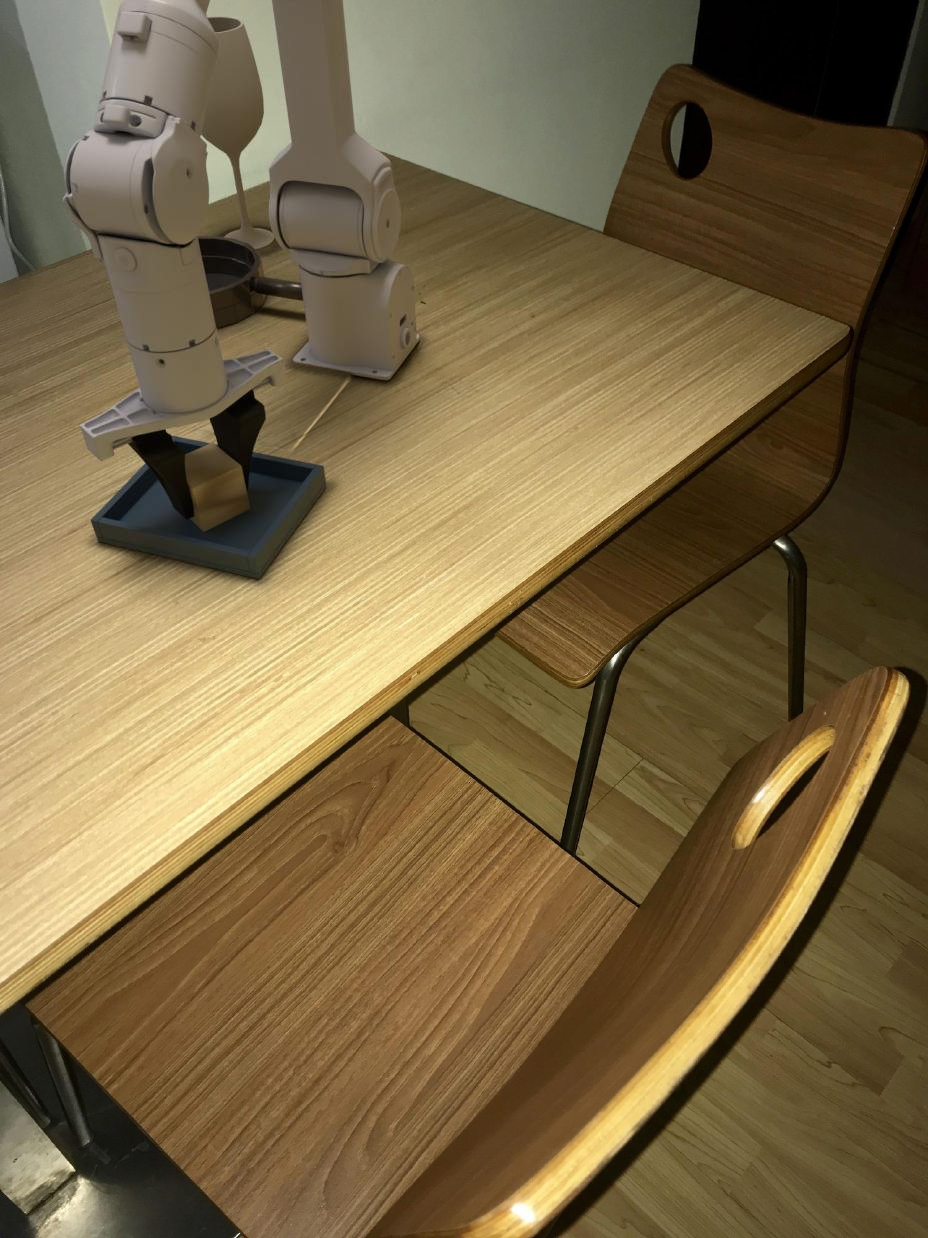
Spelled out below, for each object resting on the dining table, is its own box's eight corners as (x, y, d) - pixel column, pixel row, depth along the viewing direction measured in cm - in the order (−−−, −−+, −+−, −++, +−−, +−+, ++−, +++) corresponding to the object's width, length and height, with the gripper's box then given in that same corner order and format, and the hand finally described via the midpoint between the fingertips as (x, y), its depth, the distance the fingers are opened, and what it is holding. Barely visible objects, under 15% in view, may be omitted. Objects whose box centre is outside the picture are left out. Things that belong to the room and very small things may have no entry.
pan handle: (333, 299, 94) (331, 283, 93) (326, 307, 93) (324, 291, 92) (257, 288, 96) (255, 272, 95) (250, 295, 95) (247, 279, 94)
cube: (223, 485, 76) (213, 441, 73) (250, 509, 74) (241, 465, 71) (176, 507, 74) (164, 463, 71) (204, 532, 72) (192, 488, 69)
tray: (326, 486, 77) (323, 465, 75) (259, 579, 69) (254, 557, 68) (177, 455, 80) (172, 434, 78) (97, 541, 72) (89, 519, 71)
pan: (289, 283, 101) (284, 245, 98) (226, 346, 92) (218, 305, 89) (176, 266, 104) (168, 228, 101) (105, 325, 95) (93, 285, 93)
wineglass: (298, 237, 109) (269, 20, 94) (252, 264, 104) (213, 40, 90) (245, 222, 112) (209, 9, 97) (198, 248, 107) (153, 28, 93)
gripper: (235, 275, 69) (265, 438, 79) (38, 345, 63) (96, 514, 72) (291, 310, 66) (315, 477, 75) (87, 389, 59) (142, 561, 69)
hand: (211, 498), depth 74 cm, fingers closed on cube, 4 cm apart
